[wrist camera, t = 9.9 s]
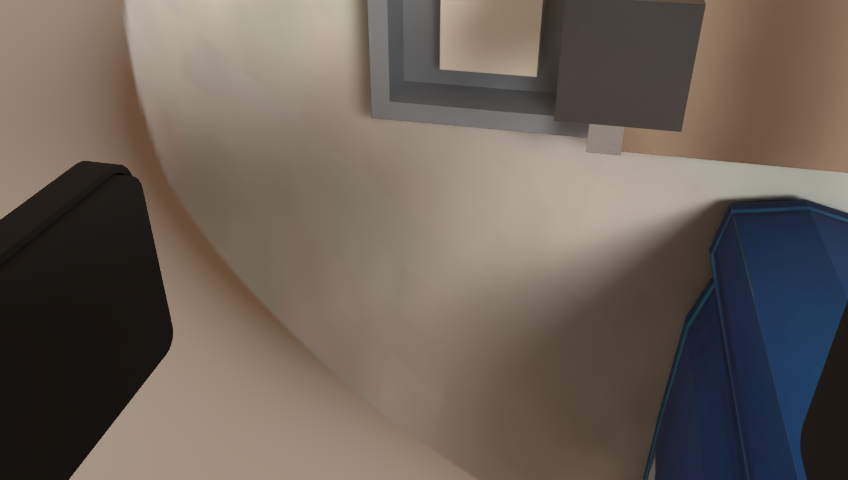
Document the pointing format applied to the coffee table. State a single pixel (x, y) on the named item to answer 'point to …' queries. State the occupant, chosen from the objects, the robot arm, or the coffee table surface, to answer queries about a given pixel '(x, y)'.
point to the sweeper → (626, 66)
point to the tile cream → (492, 36)
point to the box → (458, 75)
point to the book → (754, 345)
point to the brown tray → (764, 88)
